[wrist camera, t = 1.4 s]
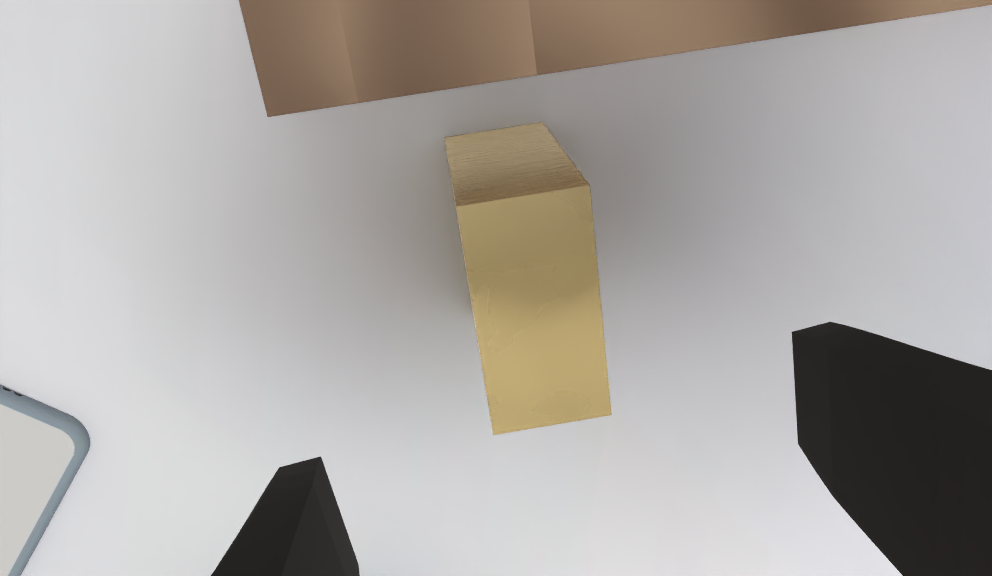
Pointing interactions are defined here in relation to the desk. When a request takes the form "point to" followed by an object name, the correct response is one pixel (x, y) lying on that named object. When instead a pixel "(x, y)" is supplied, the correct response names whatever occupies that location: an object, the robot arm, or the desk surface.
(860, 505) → the robot arm
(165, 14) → the desk surface
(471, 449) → the desk surface
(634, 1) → the notched board
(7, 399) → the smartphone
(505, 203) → the brass tab
